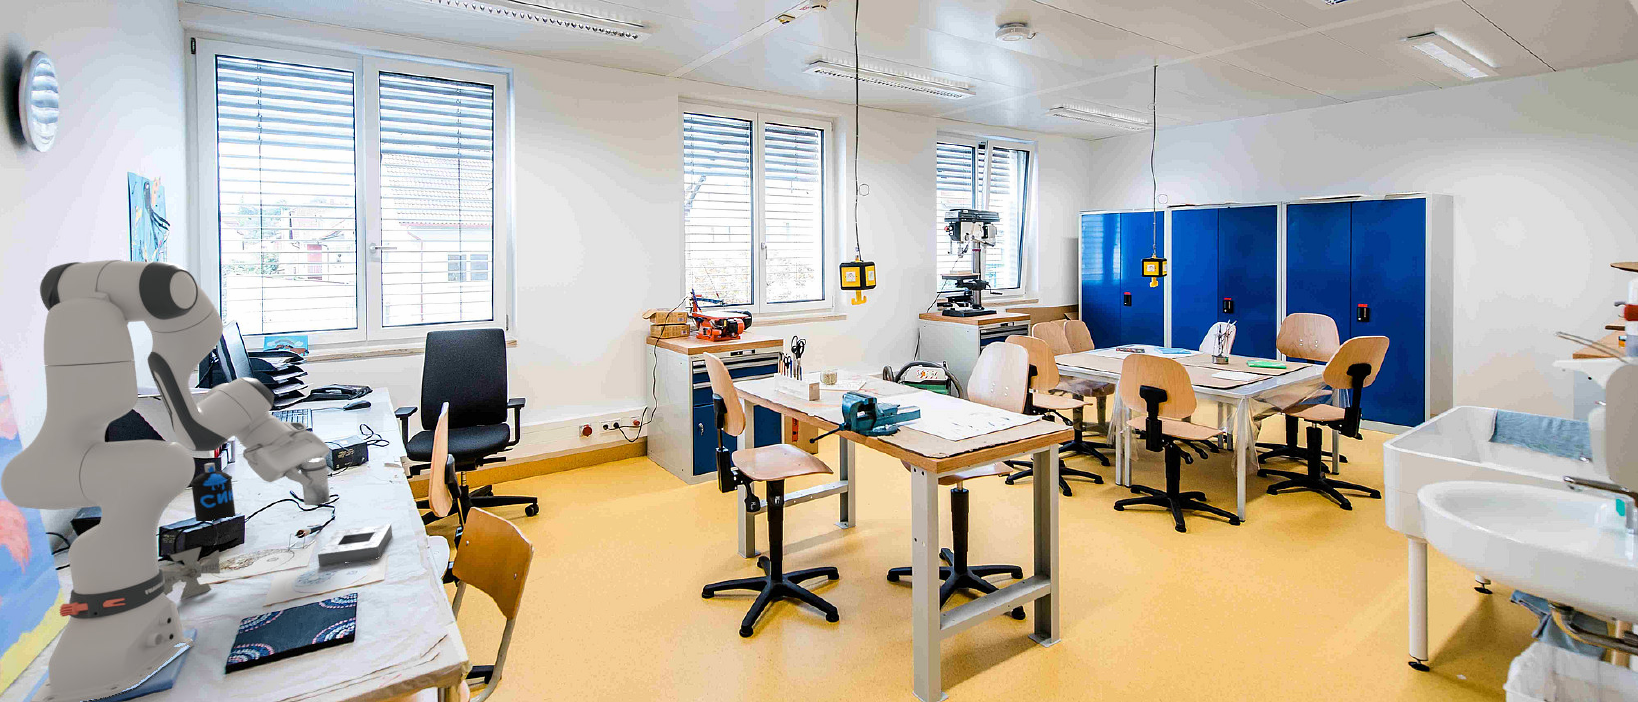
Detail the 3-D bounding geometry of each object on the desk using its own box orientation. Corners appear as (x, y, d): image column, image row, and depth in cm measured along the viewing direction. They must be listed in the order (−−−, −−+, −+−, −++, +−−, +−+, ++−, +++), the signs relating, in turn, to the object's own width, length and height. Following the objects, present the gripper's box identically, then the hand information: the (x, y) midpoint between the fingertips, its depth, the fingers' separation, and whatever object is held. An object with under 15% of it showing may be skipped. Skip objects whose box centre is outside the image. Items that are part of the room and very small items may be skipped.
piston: (327, 503, 175) (322, 462, 173) (301, 506, 173) (296, 464, 172) (332, 497, 180) (328, 456, 178) (307, 499, 178) (303, 459, 176)
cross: (219, 584, 162) (213, 540, 161) (225, 586, 161) (220, 542, 160) (160, 604, 153) (154, 557, 152) (166, 606, 152) (160, 560, 151)
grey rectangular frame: (378, 558, 175) (377, 546, 174) (319, 566, 171) (317, 554, 170) (392, 535, 190) (391, 524, 189) (337, 542, 186) (336, 530, 185)
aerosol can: (191, 543, 186) (181, 466, 184) (229, 532, 194) (220, 457, 191) (207, 549, 182) (197, 470, 180) (246, 537, 190) (236, 461, 187)
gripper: (247, 441, 163) (298, 483, 165) (306, 421, 184) (351, 458, 185) (229, 461, 164) (279, 503, 165) (290, 439, 184) (334, 476, 186)
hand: (317, 479), depth 176 cm, fingers closed on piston, 5 cm apart
